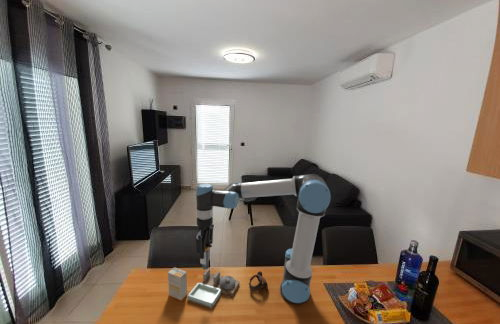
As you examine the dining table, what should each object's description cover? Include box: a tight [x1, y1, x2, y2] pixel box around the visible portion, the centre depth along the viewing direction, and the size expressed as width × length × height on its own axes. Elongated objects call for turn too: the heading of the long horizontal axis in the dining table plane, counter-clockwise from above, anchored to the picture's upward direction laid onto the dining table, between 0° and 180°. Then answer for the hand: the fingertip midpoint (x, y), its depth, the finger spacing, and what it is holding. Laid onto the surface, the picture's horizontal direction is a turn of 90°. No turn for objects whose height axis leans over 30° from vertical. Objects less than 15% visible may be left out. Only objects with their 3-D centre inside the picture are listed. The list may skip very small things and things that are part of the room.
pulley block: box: [202, 268, 240, 297], centre depth 114 cm, size 18×9×6 cm, turn 71°
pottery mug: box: [248, 271, 269, 292], centre depth 114 cm, size 12×10×8 cm
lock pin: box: [201, 245, 210, 271], centre depth 104 cm, size 4×4×11 cm
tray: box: [187, 282, 222, 309], centre depth 106 cm, size 14×10×2 cm
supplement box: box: [167, 267, 188, 302], centre depth 106 cm, size 8×5×13 cm, turn 65°
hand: (205, 261), depth 105 cm, fingers closed on lock pin, 3 cm apart
